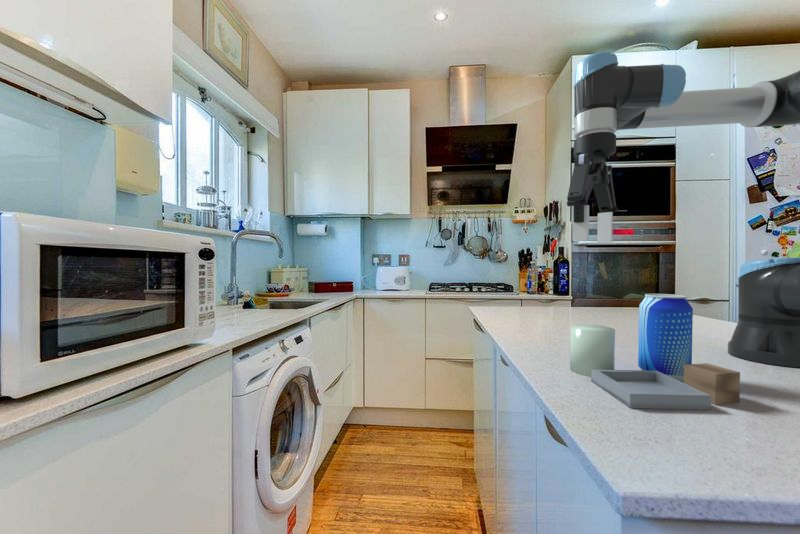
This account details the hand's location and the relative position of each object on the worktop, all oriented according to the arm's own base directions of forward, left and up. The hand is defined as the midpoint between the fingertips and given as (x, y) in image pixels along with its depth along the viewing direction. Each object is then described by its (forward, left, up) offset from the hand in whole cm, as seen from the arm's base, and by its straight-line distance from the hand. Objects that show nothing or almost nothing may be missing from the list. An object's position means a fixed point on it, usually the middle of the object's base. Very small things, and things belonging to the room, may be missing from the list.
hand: (593, 241), depth 71 cm
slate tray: (-3, +12, -27) cm, 29 cm away
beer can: (-13, +2, -27) cm, 30 cm away
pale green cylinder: (0, 0, -27) cm, 27 cm away
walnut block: (-13, +13, -27) cm, 32 cm away
